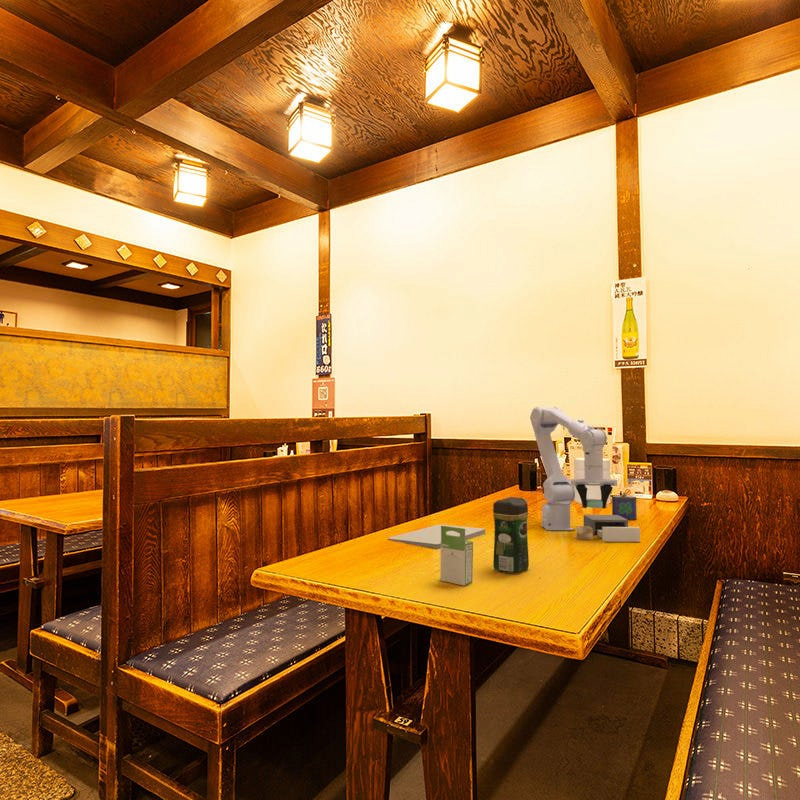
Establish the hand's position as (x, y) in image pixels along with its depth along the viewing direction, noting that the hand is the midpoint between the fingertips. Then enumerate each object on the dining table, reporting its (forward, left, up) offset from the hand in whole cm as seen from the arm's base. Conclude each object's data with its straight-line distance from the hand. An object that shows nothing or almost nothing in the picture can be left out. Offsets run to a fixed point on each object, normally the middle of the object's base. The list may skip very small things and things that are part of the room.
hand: (593, 507), depth 177 cm
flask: (+23, +33, -10) cm, 42 cm away
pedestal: (-3, 0, -10) cm, 10 cm away
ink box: (-49, -48, -10) cm, 69 cm away
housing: (+7, +9, -10) cm, 15 cm away
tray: (+7, 0, -10) cm, 12 cm away
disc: (0, 0, 0) cm, 1 cm away
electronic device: (-51, +1, -11) cm, 52 cm away
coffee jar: (-34, -37, -10) cm, 51 cm away
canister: (+25, +76, -10) cm, 81 cm away
